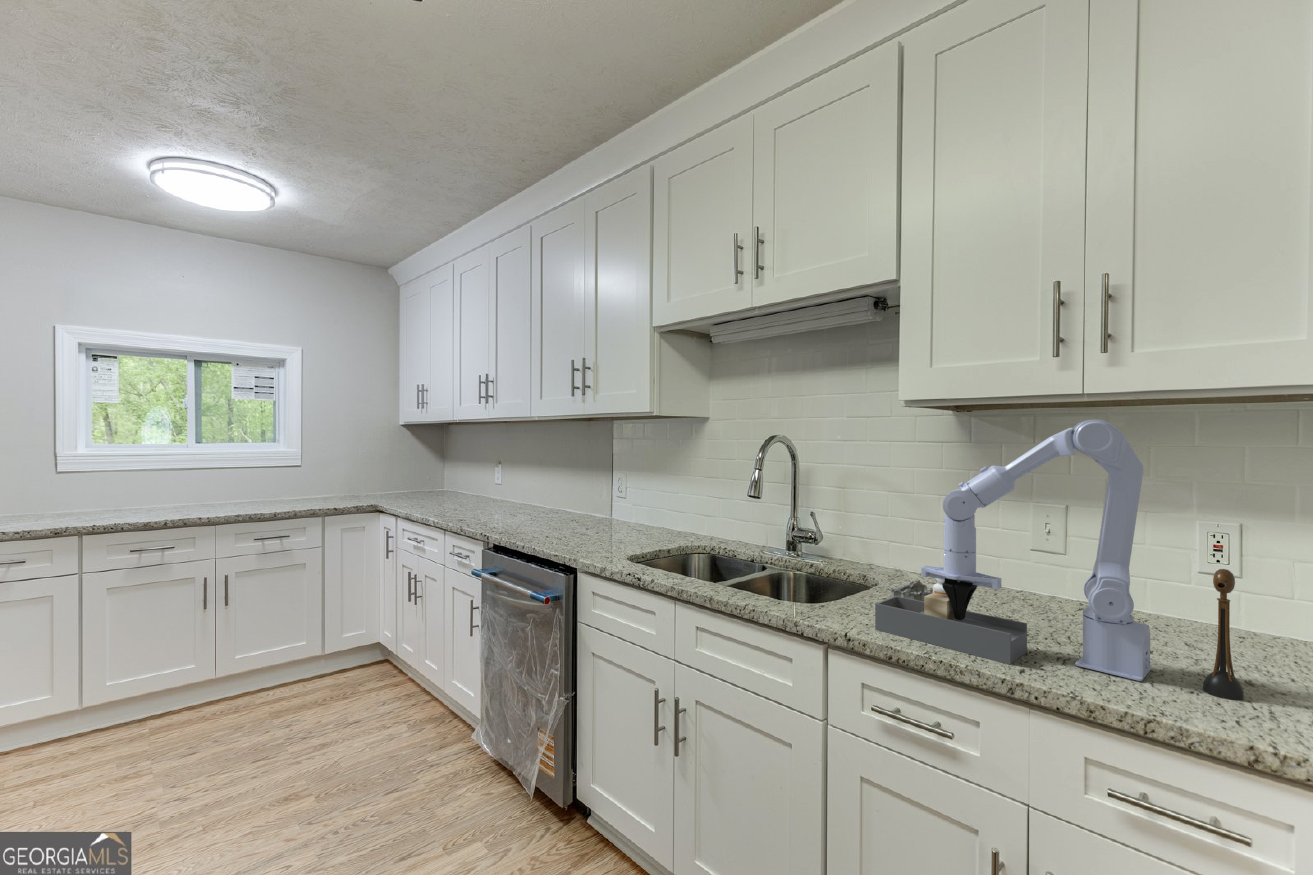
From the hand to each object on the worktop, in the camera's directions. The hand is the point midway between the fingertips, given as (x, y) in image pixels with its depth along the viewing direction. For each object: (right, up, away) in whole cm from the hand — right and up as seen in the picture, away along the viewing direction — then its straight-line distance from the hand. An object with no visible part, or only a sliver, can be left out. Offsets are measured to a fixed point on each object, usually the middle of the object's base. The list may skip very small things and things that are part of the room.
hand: (959, 618), depth 120 cm
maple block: (-3, -1, +3) cm, 4 cm away
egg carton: (+4, -5, +31) cm, 31 cm away
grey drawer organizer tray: (-2, -5, +2) cm, 6 cm away
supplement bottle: (+5, -5, +16) cm, 17 cm away
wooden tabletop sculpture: (+30, -5, -23) cm, 38 cm away
